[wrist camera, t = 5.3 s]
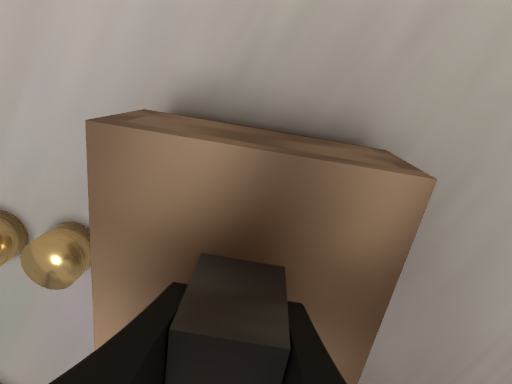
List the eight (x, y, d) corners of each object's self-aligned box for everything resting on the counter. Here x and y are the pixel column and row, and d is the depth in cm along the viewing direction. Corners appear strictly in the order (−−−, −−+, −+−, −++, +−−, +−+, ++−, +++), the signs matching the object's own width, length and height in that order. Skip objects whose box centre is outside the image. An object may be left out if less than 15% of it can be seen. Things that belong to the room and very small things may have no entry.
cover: (385, 150, 13) (528, 232, 6) (327, 336, 17) (369, 529, 10) (143, 109, 13) (-21, 139, 6) (138, 304, 17) (35, 475, 10)
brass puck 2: (100, 226, 18) (75, 245, 16) (101, 269, 19) (78, 293, 17) (48, 217, 18) (17, 235, 16) (52, 261, 19) (23, 284, 17)
